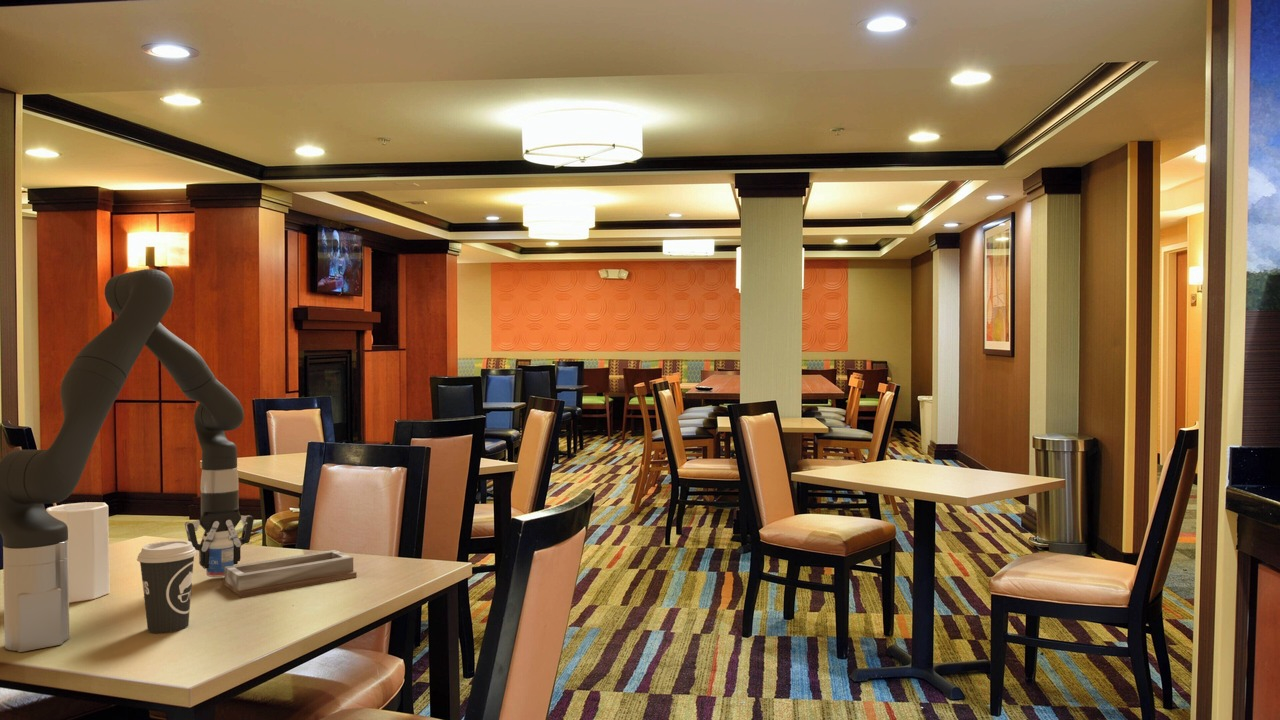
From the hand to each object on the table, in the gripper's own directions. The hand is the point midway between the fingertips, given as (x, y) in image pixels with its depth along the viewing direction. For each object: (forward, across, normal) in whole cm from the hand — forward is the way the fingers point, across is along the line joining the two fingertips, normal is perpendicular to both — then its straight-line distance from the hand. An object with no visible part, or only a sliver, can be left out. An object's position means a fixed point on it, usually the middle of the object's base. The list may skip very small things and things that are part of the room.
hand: (220, 565), depth 193 cm
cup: (+3, -26, +5) cm, 27 cm away
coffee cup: (+4, -17, -31) cm, 35 cm away
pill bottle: (+2, 0, 0) cm, 2 cm away
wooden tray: (+3, +11, -12) cm, 16 cm away
